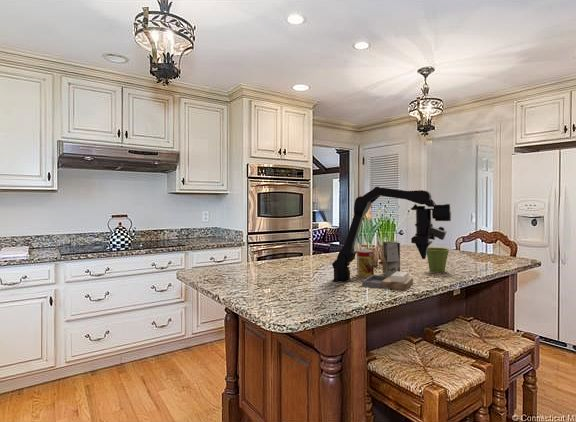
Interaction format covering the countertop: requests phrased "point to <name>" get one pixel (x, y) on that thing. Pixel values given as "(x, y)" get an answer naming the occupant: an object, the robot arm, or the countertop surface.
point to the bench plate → (397, 283)
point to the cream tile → (399, 276)
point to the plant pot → (437, 259)
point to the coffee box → (391, 257)
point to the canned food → (365, 263)
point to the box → (374, 281)
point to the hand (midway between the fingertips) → (423, 258)
